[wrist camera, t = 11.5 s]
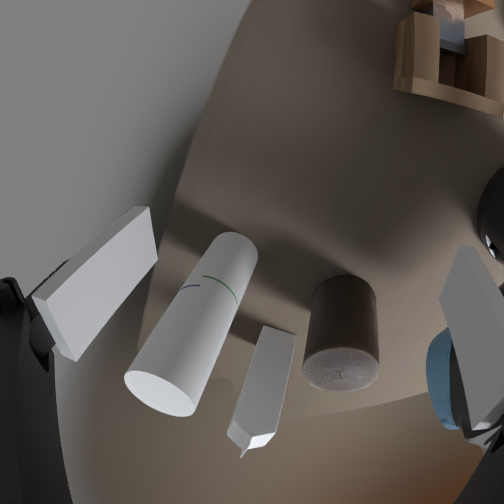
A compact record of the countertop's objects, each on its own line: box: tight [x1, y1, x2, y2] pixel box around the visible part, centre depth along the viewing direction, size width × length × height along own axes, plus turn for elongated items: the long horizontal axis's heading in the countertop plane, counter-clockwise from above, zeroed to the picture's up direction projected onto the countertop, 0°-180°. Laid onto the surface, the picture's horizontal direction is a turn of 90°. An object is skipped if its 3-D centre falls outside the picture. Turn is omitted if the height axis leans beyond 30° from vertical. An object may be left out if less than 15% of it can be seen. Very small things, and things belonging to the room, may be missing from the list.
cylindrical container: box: [124, 232, 258, 417], centre depth 36 cm, size 7×7×25 cm
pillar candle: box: [302, 275, 380, 393], centre depth 40 cm, size 10×10×15 cm
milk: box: [227, 325, 296, 458], centre depth 45 cm, size 6×6×22 cm
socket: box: [393, 11, 504, 119], centre depth 22 cm, size 10×8×9 cm
